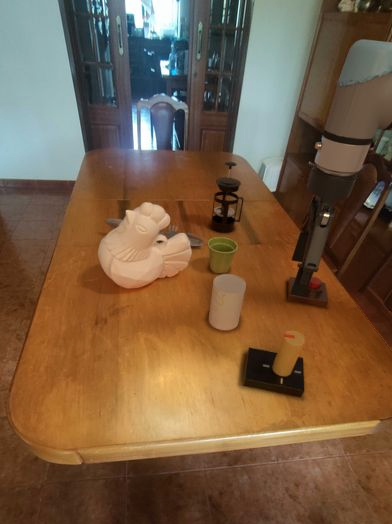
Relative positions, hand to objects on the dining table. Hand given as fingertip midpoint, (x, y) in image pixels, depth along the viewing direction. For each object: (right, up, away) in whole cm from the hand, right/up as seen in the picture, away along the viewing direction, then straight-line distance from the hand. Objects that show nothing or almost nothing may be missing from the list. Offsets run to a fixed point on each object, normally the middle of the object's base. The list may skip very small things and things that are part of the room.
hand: (297, 276), depth 68 cm
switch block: (+12, +1, +29) cm, 31 cm away
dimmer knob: (-2, -20, +4) cm, 21 cm away
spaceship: (-37, +22, +45) cm, 62 cm away
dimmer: (-4, -22, +6) cm, 23 cm away
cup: (-14, -8, +18) cm, 24 cm away
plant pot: (-14, +11, +36) cm, 40 cm away
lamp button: (+13, +3, +26) cm, 29 cm away
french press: (-11, +32, +56) cm, 66 cm away
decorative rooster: (-37, +5, +28) cm, 46 cm away
